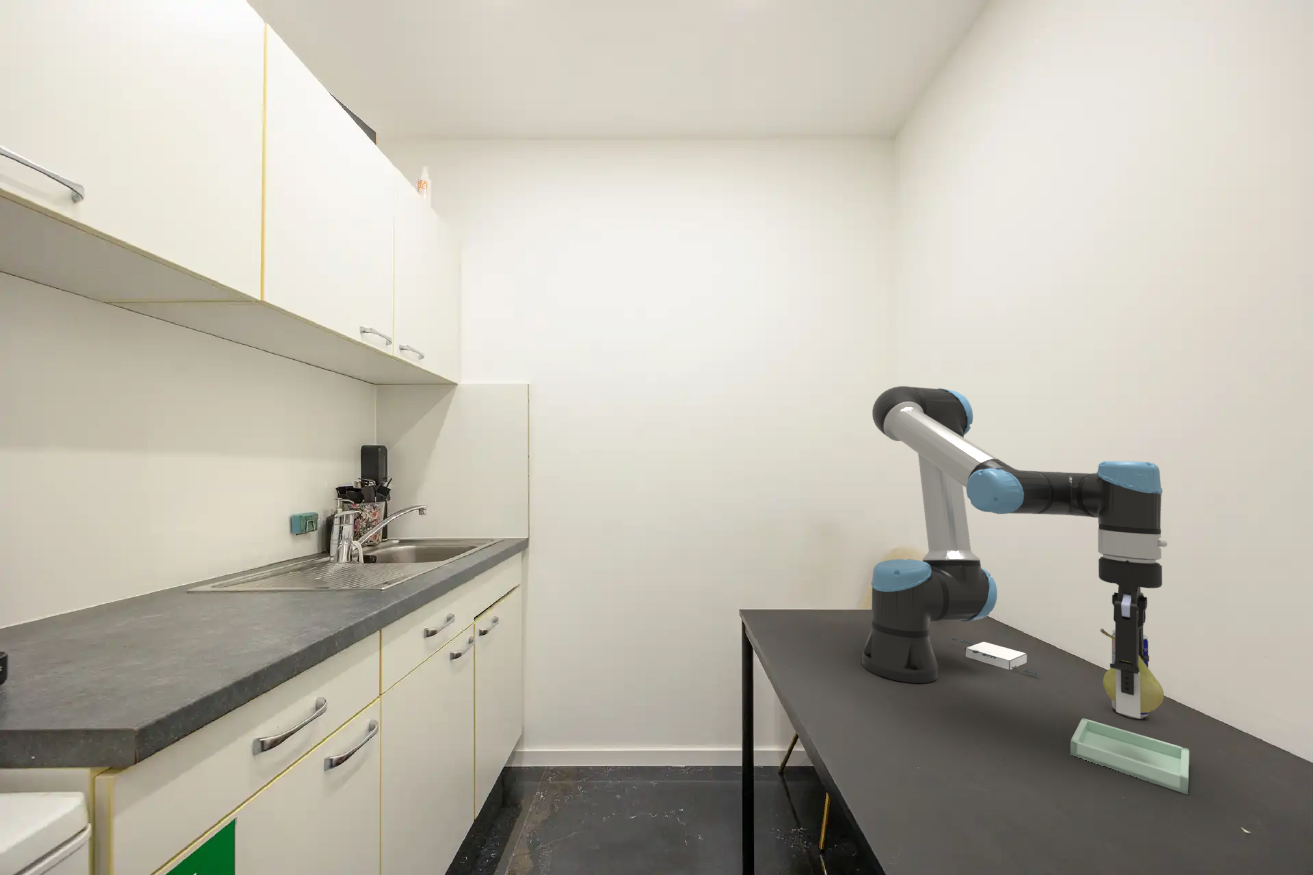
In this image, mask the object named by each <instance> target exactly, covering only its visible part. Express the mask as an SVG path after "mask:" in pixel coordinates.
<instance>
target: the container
mask: <svg viewBox="0 0 1313 875" xmlns="http://www.w3.org/2000/svg"><path fill="white" fill-rule="evenodd" d="M951 640H952V641H957V640H958V638H957V637H951ZM959 642H960V643H963V644H967V645H970V646H967V647H965V648H964V650H965V652H964V657H965V658H968V659H972V660H975V661H978V662H982V663H985V664H989V665H992V666H994V667H995V666H996V667H999V668H1003V669H1005V670H1009V671H1010V670H1018V669H1019V666H1021V665H1022V666H1023V665H1024V664H1026V663H1028V653H1026V652H1023V651H1019V650H1015V649H1012V648H1008V647H1005V646H1001V645H997V644H993V643H990V642H986V641H981V642H978V643H976V644H974V643H973V642H970V641H966V640H962V639H961V640H959ZM1022 671H1023V673H1026V674H1027V673H1028V674H1032V675H1035V677H1036V676H1039V672H1035V671H1032V670H1030V671H1029V669H1022Z"/></svg>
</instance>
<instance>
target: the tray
mask: <svg viewBox="0 0 1313 875" xmlns="http://www.w3.org/2000/svg"><path fill="white" fill-rule="evenodd" d="M1069 755H1070V756H1071V755H1073V756H1072V757H1074V756H1077V757H1078V758H1077V757H1076V758H1077V759H1079V758H1082V759H1083V761H1085V760H1087V761H1086V762H1088V761H1089V763H1091V762H1093V763H1092V764H1094V763H1095V764H1094V765H1097V764H1099V765H1098V766H1100V765H1101V767H1103V766H1106V767H1108V768H1107V769H1109V768H1112V769H1114V770H1113V771H1115V770H1116V772H1118V771H1119V772H1118V773H1122V774H1124V773H1125V775H1126V776H1127V775H1128V776H1130V775H1131V777H1133V778H1136V777H1137V778H1136V779H1140V780H1142V781H1146V782H1148V781H1149V782H1148V783H1151V784H1154V785H1157V786H1160V787H1163V788H1165V789H1169V790H1172V791H1175V792H1178V793H1181V794H1183V795H1189V781H1190V780H1189V775H1190V772H1189V771H1190V748H1186V747H1183V746H1180V745H1177V744H1172V743H1169V742H1167V741H1163V740H1159V739H1156V738H1153V737H1149V736H1146V735H1142V734H1138V733H1136V732H1133V731H1132V732H1131V731H1130V730H1129V731H1128V730H1126V729H1121V728H1118V727H1115V726H1113V725H1112V726H1111V725H1108V724H1105V723H1100V722H1098V721H1094V720H1091V719H1087V718H1084V717H1082V718H1081V720H1080V722H1079V723H1078V726H1077V728H1076V730H1075V732H1074V734H1073V735H1072V737H1071V739H1070V754H1069ZM1082 759H1081V760H1082ZM1106 767H1105V768H1106ZM1112 769H1111V770H1112Z"/></svg>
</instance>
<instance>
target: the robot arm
mask: <svg viewBox="0 0 1313 875" xmlns="http://www.w3.org/2000/svg"><path fill="white" fill-rule="evenodd" d="M871 412H872V420H873V422H874V424H875V427H876V428H877V429H878V430H879V431H880V432H881V433H882V434H883V435H885V436H886V437H887V438H889V439H890V440H892V441H894V442H902V443H903V444H905V445H906V446H908V447H909V448H910V449H912V450H913V451H914V452H916V454H917V456H918V464H919V465H918V466H919V473H920V482H921V491H922V494H921V495H922V501H923V502H922V503H923V509H924V511H923V512H924V519H925V528H926V536H927V537H926V538H927V546H928V547H927V548H928V552H927V553H926V554H925V556H923V558H922V560H919V559H918V560H917V559H901V558H897V559H890V560H889V559H887V560H884V561H880V562H878V563H877V564H876V565H875V566H874V568H873V570H872V579H871V582H870V583H871V588H872V589H871V627H870V632H869V635H868V638H867V640H866V642H865V646H864V648H863V650H862V654H861V664H862V666H863V667H864V668H865V669H866V670H868V671H869V672H871V673H872V674H875V675H877V676H879V677H884V679H885V678H887V679H889V680H894V681H898V682H904V683H911V684H912V683H915V684H926V683H927V684H928V683H932V682H935V681H937V679H938V678H939V666H938V665H939V664H938V661H937V659H936V655H935V652H934V649H933V646H932V642H931V640H930V626H931V625H930V623H931V622H951V621H952V622H953V621H954V622H957V621H958V622H959V621H960V622H966V623H967V622H970V621H978V620H982V619H985V618H986V617H988V616H989V615H990V613H991V612H992V611H994V609H995V606H996V604H997V599H998V589H997V588H998V587H997V584H996V581H995V580H994V577H992V576H991V573H990V572H989V571H988V570H986V569H985V568H983V567H982V565H981V559H980V558H979V557H978V555H976V554H975V553H973V551H972V550H971V549H972V548H971V542H970V541H971V540H970V532H969V525H968V515H967V508H966V502H965V501H966V500H965V496H964V495H965V494H964V488H965V490H966V491H965V492H966V496H967V498H968V499H969V501H970V504H971V505H972V506H973V507H974V508H975V509H977V510H979V511H981V512H985V513H993V514H997V515H1005V514H1006V515H1007V514H1018V515H1019V514H1023V515H1025V514H1026V515H1027V514H1029V515H1031V514H1032V515H1050V516H1051V515H1053V516H1054V515H1058V516H1059V515H1060V516H1075V517H1090V518H1095V519H1097V521H1098V522H1097V524H1098V528H1097V552H1098V553H1099V554H1101V555H1102V556H1100V558H1098V578H1099V579H1100V581H1103V582H1105V583H1109V584H1116V585H1117V586H1118V588H1117V590H1118V591H1117V592H1113V594H1112V595H1111V604H1112V607H1113V621H1114V623H1115V626H1114V628H1115V629H1114V630H1115V661H1114V664H1112V662H1111V663H1109V669H1111V668H1114V669H1116V709H1115V712H1116V713H1118V714H1120V713H1122V714H1126V715H1129V716H1133V717H1137V718H1140V673H1139V667H1138V661H1139V656H1140V657H1141V659H1142V660H1144V661H1148V662H1150V655H1149V654H1148V655H1144V654H1143V652H1145V648H1144V645H1143V634H1144V624H1145V623H1146V615H1147V614H1146V611H1147V607H1148V597H1147V596H1145V595H1144V593H1143V592H1141V590H1142V589H1141V588H1144V589H1158V588H1161V587H1162V585H1163V565H1161V563H1160V562H1157V561H1159V560H1161V559H1162V548H1161V547H1163V548H1165V547H1167V546H1168V543H1167V540H1161V538H1162V528H1161V526H1162V525H1161V524H1162V523H1161V522H1162V521H1161V518H1162V517H1161V516H1162V512H1161V511H1162V494H1163V488H1162V485H1161V484H1162V482H1161V473H1160V467H1159V466H1158V465H1157V464H1155V463H1153V462H1149V461H1134V460H1133V461H1129V460H1127V461H1124V460H1119V461H1118V460H1109V461H1101V462H1099V464H1098V466H1097V471H1096V472H1095V473H1094V472H1092V473H1088V472H1087V473H1086V472H1085V473H1084V472H1065V471H1064V472H1063V471H1039V470H1038V471H1036V470H1022V469H1021V470H1020V469H1016V468H1015V467H1012V466H1011V465H1009V464H1007V463H1006V462H1004V461H1002V460H1000V459H999V458H998V457H996V456H994V455H992V454H991V453H989V452H988V451H986V450H985V449H982V448H981V447H979V446H977V445H976V444H975V443H973V442H971V441H970V440H968V439H967V438H965V437H964V436H965V435H966V434H967V433H969V431H970V430H971V428H972V427H971V425H972V424H973V420H974V412H973V408H972V406H971V404H970V401H969V400H968V398H966V397H965V395H963V394H962V393H960V392H958V391H956V390H950V389H945V388H930V387H917V386H916V387H915V386H906V385H903V386H901V385H899V386H894V387H892V388H888V389H886V390H885V391H884V392H882V393H881V394H880V395H879V396H878V397H877V398H876V400H875V401H874V403H873V406H872V411H871ZM1121 660H1123V661H1121ZM1126 661H1128V662H1126ZM1130 662H1131V663H1130ZM1122 714H1121V715H1122Z"/></svg>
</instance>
